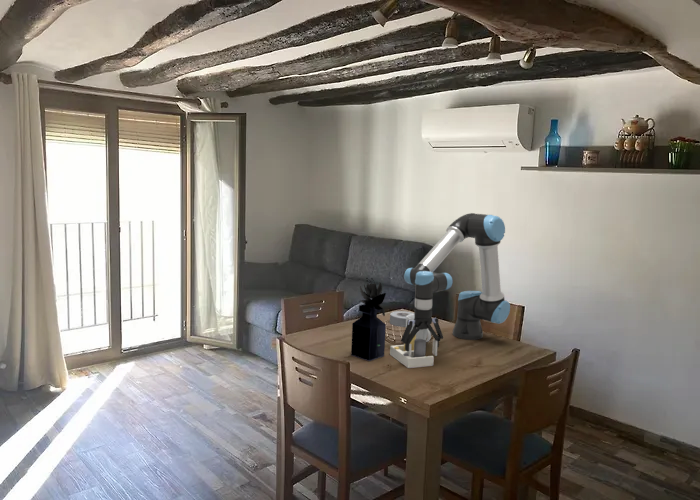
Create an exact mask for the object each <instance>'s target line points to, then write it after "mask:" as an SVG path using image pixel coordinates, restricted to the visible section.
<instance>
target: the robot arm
mask: <svg viewBox="0 0 700 500" xmlns="http://www.w3.org/2000/svg"><path fill="white" fill-rule="evenodd" d="M445 231H446V232H445V233H444V234H443V236H442V237H441V238H440V239H439V240H438V241H437V242H436V243H435V245H434V246H433V247H432V248H431V249H430V250H429V251H428V253H426V254H425V256H424V257H423V258H422V259H421V260H420V261H419V262H418V263H417V265H416V266H415V267H408V268H407V269H406V270H405V272H404V274H403V278H404V281H405V283H407V284H409V285H412V286H414V291H415V293H414V310H413V313H414V316H415V319H414V320H411V321H410V320H408V321H407V327H405V330H404V331H403V334H402V337H401V339H400V342H401V343H403V344H404V343H405V350H406V351H407V354H409V356H410V357H411V344H410V342H411V341H412V339H413V338H414V336H415V335H416V333H417V332H418V331H419V330H423V329H428V330H429V331H430V333H431V337H433V338H434V339H432V351H431V352H432V356H434V357H437V356H438V348H439V347H440V342H441V340H443V339H444V335H443V332H442V330H441V327H440V324H439V318H437V317H436V316H434V317H433V298H434V297H433V296H434V293H438V292H443V291H444V292H445V291H446V290H449V289H450V288H452V285H453V283H454V282H453V277H452V276H451V274H449V273H448V272H440V273H438V272H435V270H437V268H438V267H440V264H442V263H443V261H444V260H445V259H446V258H447V256H449V254H450V253H451V252H452V251H453V250H454V248H456V246H457V245H458V244H459V243H462V242H464V241H465V239H468V238H472V239H474V244H475V245H476V247H478V251H479V252H478V253H479V254H478V256H479V265H480V279H481V289H482V291H481V290H464V291H461V292H460V293H459V294H458V299H457V316H456V321H455V324H454V327H453V329H452V335H453V336H454V337H455V338H458V339H462V340H463V339H464V340H470V341H471V340H474V341H475V340H481V339H483V335H484V332H483V327H482V324H481V320H483V321H486V322H491V323H493V324H494V323H495V324H499V325H500V324H502V323H504V322H506V320H507V318H508V317H509V315H510V312H511V304H510V302H509V301H507V300H505V294H504V293H503V292H502V291H501V278H500V264H499V263H500V262H499V250H498V246H499V245H500V244H501V242H502V240H503V239H504V237H505V233H506V224H505V223H504V220H503V218H501V217H500V216H497V215H494V214H483V213H473V212H470V213H465V214H463V215H462V216H460V217H458V218H457V219H455V220H453V222H452V223H451V224H450V225H448V227H447V228H446V230H445ZM413 324H415V325H414V327H413V329H412V326H413ZM431 324H433V326H434V329H435V330H434V329H433V327H432V325H431ZM411 329H412V331H411ZM410 331H411V332H410Z"/></svg>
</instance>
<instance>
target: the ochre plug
mask: <svg viewBox="0 0 700 500" xmlns="http://www.w3.org/2000/svg"><path fill="white" fill-rule="evenodd" d="M415 339H416V335H415V336H414V338H413V339H412V341H411V342H410V344H411V351H413V350H414V340H415ZM403 345H404V351H406V350H405V343H403Z"/></svg>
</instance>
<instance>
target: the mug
mask: <svg viewBox="0 0 700 500" xmlns="http://www.w3.org/2000/svg"><path fill="white" fill-rule="evenodd" d="M414 319H415V316H414V314H410V315H407V316H406V327H407V321H408V320H410V321H411V320H414ZM414 325H415V324H413V326H412V329H413V327H414ZM406 327H405V328H406ZM412 329H411V331H412ZM411 331H410V332H411ZM431 338H432V334H431V333H430V331H429V330H428V329H423V330H419V331H418V332H417V333H416V339H423V340H426V343H427V342H430V340H431Z"/></svg>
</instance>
